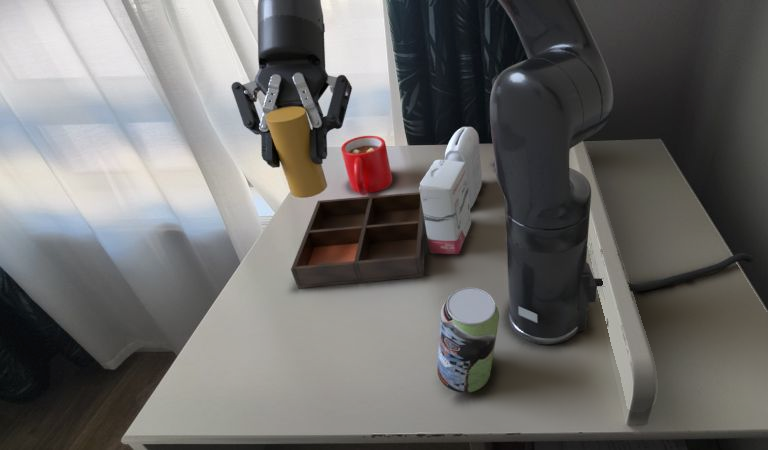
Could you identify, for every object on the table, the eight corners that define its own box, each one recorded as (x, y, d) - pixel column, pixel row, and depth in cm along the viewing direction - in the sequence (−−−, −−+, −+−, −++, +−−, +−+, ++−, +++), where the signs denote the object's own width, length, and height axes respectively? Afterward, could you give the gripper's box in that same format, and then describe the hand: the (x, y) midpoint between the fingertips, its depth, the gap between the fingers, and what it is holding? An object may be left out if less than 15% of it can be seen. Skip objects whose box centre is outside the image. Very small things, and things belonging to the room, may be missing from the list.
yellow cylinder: (330, 178, 64) (309, 104, 58) (323, 196, 60) (300, 120, 54) (295, 180, 63) (271, 107, 58) (287, 199, 60) (260, 123, 54)
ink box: (458, 256, 74) (450, 189, 67) (427, 253, 75) (416, 187, 68) (472, 223, 81) (466, 159, 74) (444, 220, 82) (435, 157, 75)
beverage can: (442, 354, 59) (430, 280, 52) (503, 354, 59) (499, 279, 52) (435, 400, 54) (420, 324, 47) (502, 400, 53) (497, 323, 46)
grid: (426, 209, 85) (424, 191, 83) (423, 277, 71) (419, 257, 68) (323, 218, 84) (317, 200, 82) (297, 288, 70) (290, 269, 68)
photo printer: (462, 181, 92) (456, 119, 85) (484, 182, 92) (480, 120, 84) (447, 211, 84) (439, 146, 77) (471, 213, 83) (465, 147, 76)
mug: (343, 206, 87) (332, 167, 82) (353, 173, 97) (344, 137, 92) (388, 203, 87) (380, 164, 83) (394, 170, 97) (387, 133, 92)
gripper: (215, 16, 56) (215, 159, 53) (341, 8, 57) (348, 149, 54) (246, 50, 64) (248, 177, 61) (357, 42, 64) (364, 168, 62)
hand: (295, 163), depth 58 cm, fingers closed on yellow cylinder, 4 cm apart
